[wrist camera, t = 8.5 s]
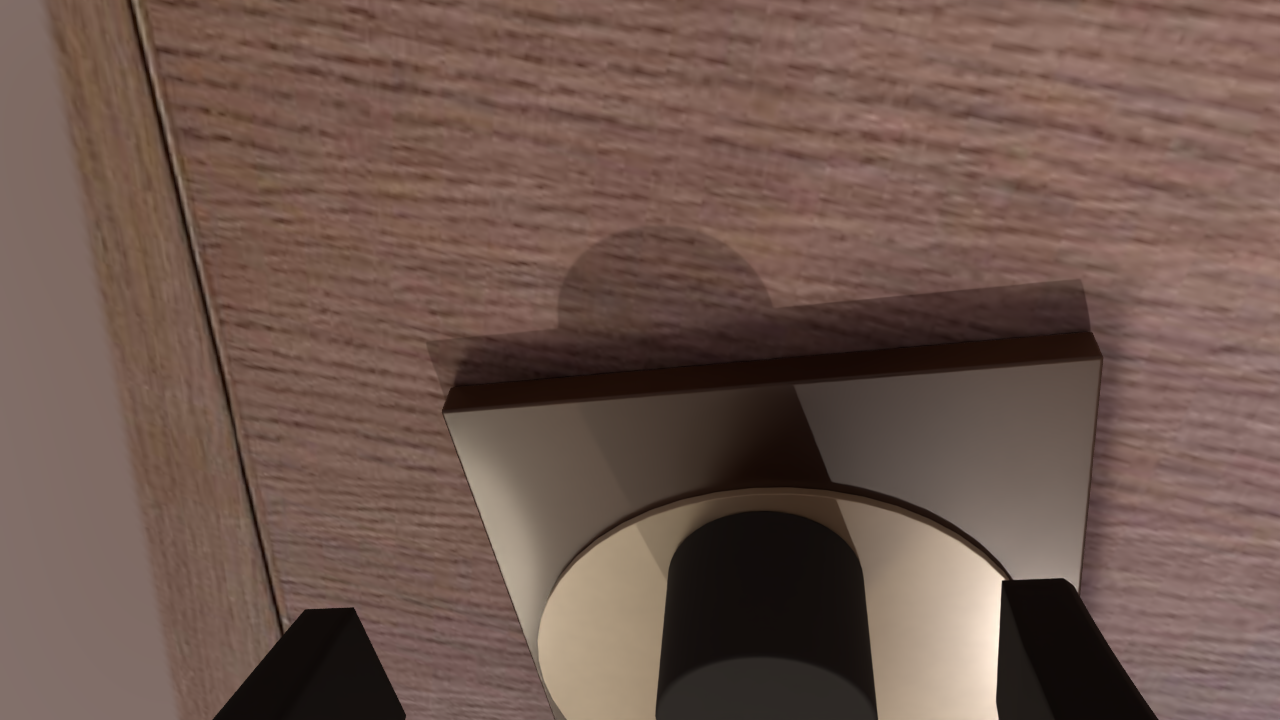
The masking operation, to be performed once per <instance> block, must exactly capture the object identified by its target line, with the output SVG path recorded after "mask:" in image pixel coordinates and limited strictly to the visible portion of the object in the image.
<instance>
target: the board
mask: <svg viewBox="0 0 1280 720" xmlns="http://www.w3.org/2000/svg"><path fill="white" fill-rule="evenodd" d="M1102 365H1103V356H1102V353H1101V351H1100V349H1099V346H1098V344H1097V342H1096V340H1095V337H1094V335H1093V333H1092V332H1080V333H1069V334H1057V335H1046V336H1034V337H1023V338H1011V339H1000V340H988V341H976V342H965V343H953V344H942V345H930V346H919V347H907V348H896V349H884V350H873V351H861V352H850V353H838V354H827V355H815V356H804V357H792V358H781V359H769V360H758V361H746V362H735V363H723V364H712V365H700V366H689V367H677V368H666V369H654V370H643V371H631V372H620V373H608V374H597V375H585V376H574V377H562V378H551V379H539V380H528V381H516V382H505V383H493V384H482V385H470V386H459V387H452V388H451V389H450V391H449V394H448V396H447V399H446V401H445V404H444V407H443V409H442V414H443V417H444V419H445V422H446V425H447V428H448V430H449V433H450V436H451V438H452V441H453V444H454V447H455V449H456V452H457V455H458V458H459V460H460V463H461V466H462V468H463V471H464V474H465V477H466V479H467V482H468V485H469V487H470V490H471V493H472V496H473V498H474V501H475V504H476V506H477V509H478V512H479V515H480V517H481V520H482V523H483V526H484V528H485V531H486V534H487V536H488V539H489V542H490V545H491V547H492V550H493V553H494V555H495V558H496V561H497V564H498V566H499V569H500V572H501V574H502V577H503V580H504V583H505V585H506V588H507V591H508V594H509V596H510V599H511V602H512V604H513V607H514V610H515V613H516V615H517V618H518V621H519V623H520V626H521V629H522V632H523V634H524V637H525V640H526V642H527V645H528V648H529V651H530V653H531V656H532V659H533V662H534V664H535V667H536V670H537V672H538V675H539V678H540V681H541V683H542V686H543V689H544V691H545V694H546V697H547V700H548V702H549V705H550V708H551V710H552V713H553V716H554V719H555V720H656V717H655V711H656V698H657V688H658V677H659V666H660V655H661V645H662V634H663V623H664V612H665V602H666V591H667V580H668V570H669V566H670V562H671V559H672V557H673V555H674V553H675V552H676V550H677V549H678V547H679V546H680V544H681V543H682V542H683V541H684V540H685V539H686V538H687V537H688V536H689V535H690V534H691V533H693V532H694V531H695V530H697V529H698V528H700V527H702V526H703V525H705V524H707V523H709V522H711V521H714V520H716V519H719V518H722V517H725V516H728V515H733V514H737V513H743V512H752V511H772V512H782V513H788V514H794V515H797V516H801V517H804V518H807V519H810V520H813V521H815V522H818V523H820V524H822V525H823V526H825V527H827V528H829V529H830V530H832V531H833V532H835V533H836V534H838V535H839V536H840V537H841V538H842V539H843V540H844V541H846V543H847V544H848V545H849V546H850V547H851V549H852V550H853V551H854V553H855V554H856V556H857V558H858V559H859V562H860V564H861V567H862V571H863V577H864V586H865V596H866V605H867V615H868V625H869V634H870V644H871V654H872V664H873V673H874V683H875V693H876V702H877V712H878V720H999V718H998V712H997V706H996V688H997V668H998V647H999V627H1000V606H1001V586H1002V580H1026V579H1050V578H1064V579H1066V580H1067V581H1068V582H1070V583H1071V584H1072V585H1074V587H1075V589H1076V590H1077V592H1078V594H1079V596H1080V590H1081V580H1082V569H1083V559H1084V549H1085V539H1086V529H1087V518H1088V508H1089V498H1090V488H1091V478H1092V467H1093V457H1094V447H1095V437H1096V427H1097V416H1098V406H1099V396H1100V386H1101V376H1102Z"/></svg>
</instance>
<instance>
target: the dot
mask: <svg viewBox="0 0 1280 720" xmlns="http://www.w3.org/2000/svg"><path fill="white" fill-rule="evenodd" d="M655 717H656V720H878V712H877V702H876V693H875V683H874V673H873V664H872V654H871V644H870V634H869V625H868V615H867V605H866V596H865V586H864V577H863V571H862V567H861V564H860V562H859V559H858V558H857V556H856V554H855V553H854V551H853V550H852V549H851V547H850V546H849V545H848V544H847V543H846V541H844V540H843V539H842V538H841V537H840V536H839V535H838V534H836V533H835V532H833V531H832V530H830V529H829V528H827V527H825V526H823V525H822V524H820V523H818V522H815V521H813V520H810V519H807V518H804V517H801V516H797V515H794V514H788V513H782V512H772V511H752V512H743V513H737V514H733V515H728V516H725V517H722V518H719V519H716V520H714V521H711V522H709V523H707V524H705V525H703V526H702V527H700V528H698V529H697V530H695V531H694V532H693V533H691V534H690V535H689V536H688V537H687V538H686V539H685V540H684V541H683V542H682V543H681V544H680V546H679V547H678V549H677V550H676V552H675V553H674V555H673V557H672V559H671V562H670V566H669V570H668V580H667V591H666V602H665V612H664V623H663V634H662V645H661V655H660V666H659V677H658V688H657V698H656V711H655Z"/></svg>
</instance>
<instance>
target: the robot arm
mask: <svg viewBox="0 0 1280 720" xmlns="http://www.w3.org/2000/svg"><path fill="white" fill-rule="evenodd" d="M996 706H997V712H998V718H999V720H1158V718H1157V717H1156V715H1155V714H1154V713H1153V711H1152V710H1151V708H1150V707H1149V705H1148V704H1147V703H1146V701H1145V700H1144V698H1143V697H1142V695H1141V694H1140V692H1139V691H1138V689H1137V688H1136V686H1135V685H1134V683H1133V682H1132V680H1131V679H1130V677H1129V676H1128V674H1127V673H1126V671H1125V670H1124V668H1123V667H1122V665H1121V664H1120V662H1119V661H1118V659H1117V658H1116V656H1115V654H1114V653H1113V651H1112V650H1111V648H1110V647H1109V645H1108V643H1107V642H1106V640H1105V639H1104V637H1103V635H1102V634H1101V632H1100V630H1099V629H1098V627H1097V626H1096V624H1095V622H1094V620H1093V619H1092V617H1091V615H1090V614H1089V612H1088V610H1087V608H1086V607H1085V605H1084V603H1083V601H1082V600H1081V598H1080V596H1079V594H1078V592H1077V590H1076V589H1075V587H1074V585H1072V584H1071V583H1070V582H1068V581H1067V580H1066V579H1064V578H1050V579H1026V580H1002V586H1001V606H1000V627H999V647H998V668H997V688H996ZM405 718H406V714H405V712H404V710H403V708H402V706H401V704H400V702H399V700H398V698H397V695H396V693H395V691H394V689H393V687H392V685H391V683H390V681H389V679H388V677H387V675H386V673H385V671H384V669H383V667H382V665H381V663H380V660H379V658H378V656H377V654H376V652H375V650H374V648H373V646H372V644H371V642H370V640H369V638H368V636H367V634H366V632H365V630H364V628H363V625H362V623H361V621H360V619H359V617H358V615H357V613H356V611H355V609H354V607H352V608H328V609H305V610H304V611H303V613H302V614H301V615H300V616H299V617H298V618H297V620H296V621H295V622H294V623H293V624H292V625H291V627H290V628H289V629H288V630H287V631H286V632H285V634H284V635H283V636H282V637H281V638H280V640H279V641H278V642H277V643H276V644H275V646H274V647H273V648H272V649H271V650H270V651H269V653H268V654H267V655H266V656H265V657H264V659H263V660H262V661H261V662H260V663H259V665H258V666H257V667H256V668H255V669H254V671H253V672H252V673H251V674H250V675H249V677H248V678H247V679H246V680H245V681H244V683H243V684H242V685H241V686H240V687H239V689H238V690H237V691H236V692H235V693H234V695H233V696H232V697H231V698H230V699H229V701H228V702H227V703H226V704H225V705H224V707H223V708H222V709H221V710H220V711H219V713H218V714H217V715H216V716H215V717H214V719H213V720H405Z"/></svg>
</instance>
